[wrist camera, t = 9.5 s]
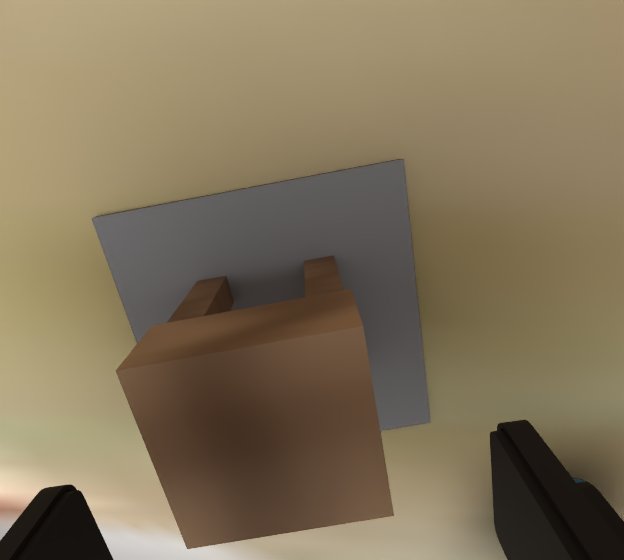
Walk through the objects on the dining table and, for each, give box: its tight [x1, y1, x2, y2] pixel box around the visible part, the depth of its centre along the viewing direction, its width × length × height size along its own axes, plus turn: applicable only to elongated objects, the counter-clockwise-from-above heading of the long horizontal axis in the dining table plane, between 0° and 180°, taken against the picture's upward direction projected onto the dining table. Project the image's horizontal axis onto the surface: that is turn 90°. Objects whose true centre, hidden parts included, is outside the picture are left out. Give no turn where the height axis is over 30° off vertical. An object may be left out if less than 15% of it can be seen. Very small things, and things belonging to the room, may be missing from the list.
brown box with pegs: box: [116, 255, 394, 549], centre depth 14 cm, size 6×6×7 cm
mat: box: [92, 159, 430, 431], centre depth 17 cm, size 12×12×1 cm
